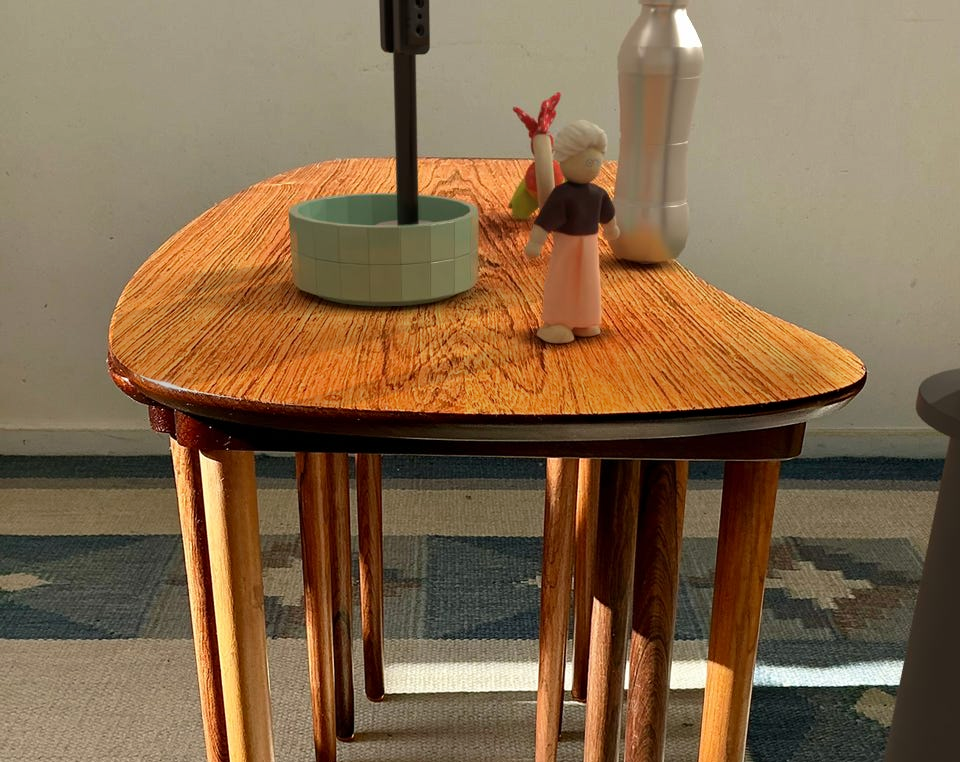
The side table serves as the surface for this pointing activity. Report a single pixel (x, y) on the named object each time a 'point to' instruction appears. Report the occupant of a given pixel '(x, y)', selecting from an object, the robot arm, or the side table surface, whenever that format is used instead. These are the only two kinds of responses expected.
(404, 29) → the robot arm
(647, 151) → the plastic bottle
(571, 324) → the grandmother figurine
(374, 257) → the bowl
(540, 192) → the bird rattle
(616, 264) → the side table surface
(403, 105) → the paper towel stand
